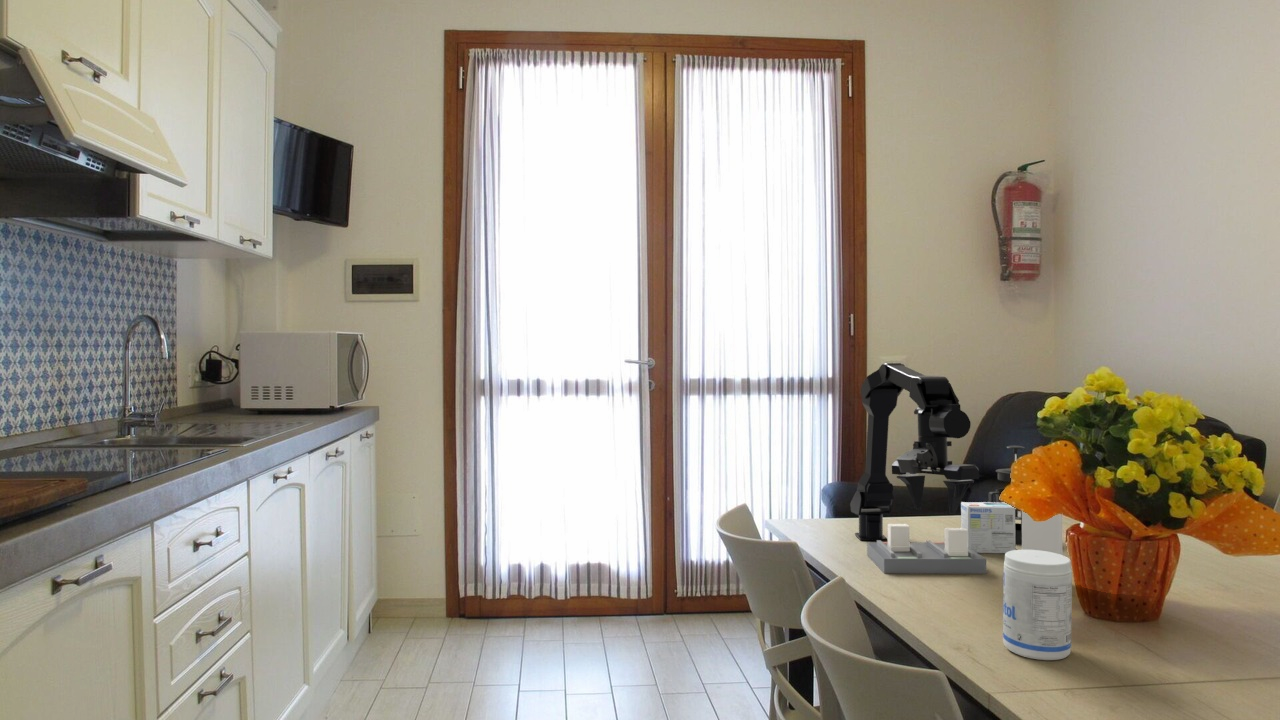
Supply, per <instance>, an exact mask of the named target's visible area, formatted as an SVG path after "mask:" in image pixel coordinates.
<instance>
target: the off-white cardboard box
mask: <svg viewBox="0 0 1280 720" xmlns="http://www.w3.org/2000/svg"><path fill="white" fill-rule="evenodd" d="M1021 550H1040V551H1048V552H1053V553H1057V554H1061V555H1063V514H1062V515H1060V514H1059V515H1055V516H1053V517H1052V518H1050V519H1048V520H1047V521H1043V522H1036V521H1033V520H1032V518H1031V517H1030V516H1029V515H1028V514H1027V513H1025V512H1023V511H1022V545H1021Z"/></svg>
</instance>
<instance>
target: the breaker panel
mask: <svg viewBox="0 0 1280 720" xmlns="http://www.w3.org/2000/svg"><path fill="white" fill-rule="evenodd" d="M887 544H888V541H883V540H876V542H875V541H873V542H866V546H867V547H866V556H867V557H868V558H869V559H870V560H871V561H872V562H873V563H874V565H876V566H877V568H878V569H880V571H882V573H884V574H947V575H948V574H951V575H952V574H957V575H958V574H959V575H960V574H965V575H966V574H969V575H970V574H979V575H980V574H981V575H982V574H984V575H985V574H987V558H985V557H984V556H982V555H981V554H980V553H976V552H975V551H973V550H972V549H970V548H969V547H968V556H948V553H946V552H945V551H944V548H945V541H932V540H930V539H929V540H928V539H927V540H925V542H918V541H917V542H914V541H913V542H910V541H909V547H910V552H893V551H892V550H891V549H889V548H888V547H887Z"/></svg>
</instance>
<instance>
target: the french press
mask: <svg viewBox="0 0 1280 720" xmlns="http://www.w3.org/2000/svg"><path fill="white" fill-rule="evenodd" d="M1005 447H1006V448H1007V449H1010V450H1013V454H1014V462H1015V461H1016V462H1017V455H1019V450H1024V449H1026V447H1025V446H1021V445H1008V446H1005ZM995 472H996V473H997V480H998V481H1002V482H1007V483H1008V482H1009V483H1012V482H1011V478H1010V473H1011V467H1009V468H998V469H996V470H995ZM1005 488H1006V487H1005ZM1005 488H1004V487H1003V488H997V489H995V491H989V492H988V502H994V495H995V496H996V497H995V498H996V500H995V501H996V502H999V503H1001V499H1000V500H999V496H1000V494H1001V492H1002V491H1003V490H1004V489H1005ZM1016 520H1019V521H1020V523H1018V522H1015V545H1021V546H1022V511H1021V510H1019V509H1016V508H1015V521H1016Z"/></svg>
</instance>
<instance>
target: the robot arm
mask: <svg viewBox="0 0 1280 720" xmlns="http://www.w3.org/2000/svg"><path fill="white" fill-rule="evenodd" d="M904 390H905V391H908V393H909V395H908V396H909V398H910V399H911V400H912V401H913V402H914V403H915V404H916V405H917V407H916V408H915V410H914V411H913V414H914V415H917V439H918V440H917V441H916V440H914V441H913V444H912V446H913V447H912V450H909V451H907V452H904V453H903V454H901V455H899V456H898V457H896V460H895V461H893V463H892V464H891V474H892V475H896V478H897V479H900V480H901V482H903V484H904V485H905V486H906V488H907V490H908V492H909V493H908V494H909V495H910V498H911V501H912V504H913V505H914V506H913V507H914V509H915V510H921V509H922V508H921V507H922V503H923V497H924V496H923V495H924V490H925V489H924V488H925V481H926V475H924V474H927V475H928V474H929V475H940V476H944V477H945V479H946V480H943V481H942V482H943V483H944V485H945V487H946V488H947V492H948V493H947V494H948V495H947V497H948V508H949V510H948V511H949V514H950V515H955V514H956V513H957V510H958V509H959V506H960V505H961V502H962V500H963V497H964V495H965V494H966V492H967V490H968V488H969V487H970V485H971V484H973V483H974V482H975V480H979V479H980V471H979V468H978V466H976V464H965V463H959V464H958V463H957V464H953V460H949V456H948V455H949V454H948V451H949V450H948V447H952V441H951V440H948V438H949V439H961V438H964V437H965V436H967V434H969V432H970V429H971V424H972V423H971V420H970V418H969V416H968V415H967V413H966V412H964V411H963V410H961V404H960V403H959V402H960V400H959V398H958V397H957V395H956V392H955V391H954V389H953V387H952V384H951V383H950V381H949V379H948V377H945V376H940V375H925V374H922V373H920V372H919V371H915V370H914V369H912V368H910V367H907V366H906V365H905V364H903V363H901V362H891V363H890V362H885V363H882V364H881V365H880V366H879V368H878V369H877V370H875V371H874V372H872V373H871V374H868V375H867V376H866V377H865V379H864V381H863V382H862V384H861V386H860V396H861V403H862V405H863V407H864V409H865V411H866V413H867V432H866V433H867V434H866V449H865V453H866V454H865V469H864V470H865V471H864V472H863V474H862V475H861V476H860V478H859V479H858V481H857V486H856V491H855V493H854V495H853V497H852V499H851V501H850V504H849V505H850V506H849V507H850V512H851V513H853V514H855V515H856V516H858V532H855V533H854V535H855V536H856V538H858V539H859V540H860V541H877V540H881V541H888V537H887V536H885V535H884V530H883V529H884V523H883V521H884V519H883V518H884V516H883V515H891V514H892V508H893V504H894V494H893V491H894V485H893V484H892V483H891V481H889V479H888V476H887V475H886V473H887V460H888V459H887V456H888V438H889V424H890V423H889V422H890V421H889V420H890V416H891V414H892V413H893V411H894V410H895V409H896V408H897V405H898V399H899V398H898V397H899V396H900V395H901V394H902V392H903V391H904ZM929 468H930V469H929ZM921 474H922V475H921Z"/></svg>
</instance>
